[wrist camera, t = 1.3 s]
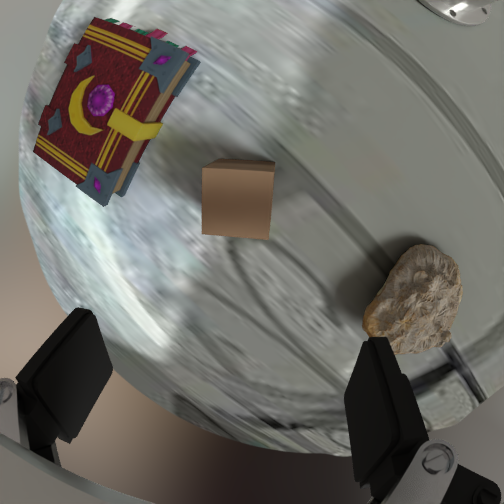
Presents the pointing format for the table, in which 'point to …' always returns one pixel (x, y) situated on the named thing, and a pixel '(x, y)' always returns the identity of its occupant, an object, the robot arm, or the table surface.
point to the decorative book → (110, 105)
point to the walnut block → (237, 198)
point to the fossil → (416, 301)
